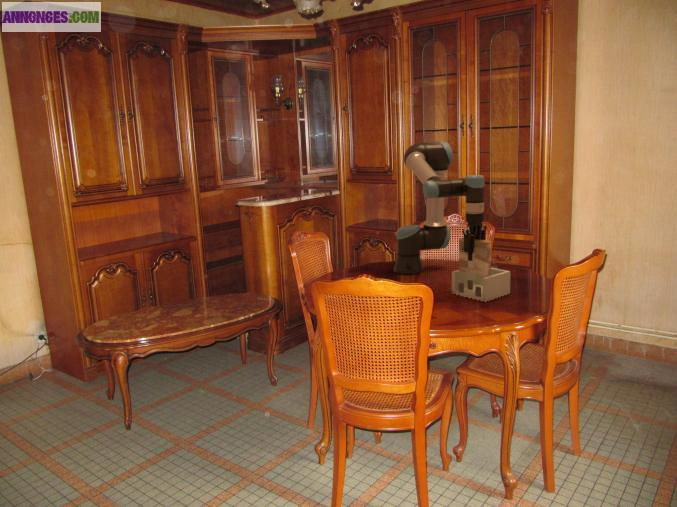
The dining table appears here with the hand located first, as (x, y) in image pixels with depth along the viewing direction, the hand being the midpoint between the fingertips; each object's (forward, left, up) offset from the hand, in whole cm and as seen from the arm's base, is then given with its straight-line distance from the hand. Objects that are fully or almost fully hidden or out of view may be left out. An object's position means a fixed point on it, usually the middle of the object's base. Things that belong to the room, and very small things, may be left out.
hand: (474, 266), depth 246 cm
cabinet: (0, +5, -13) cm, 14 cm away
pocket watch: (-6, +26, -13) cm, 29 cm away
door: (0, 0, -2) cm, 2 cm away
